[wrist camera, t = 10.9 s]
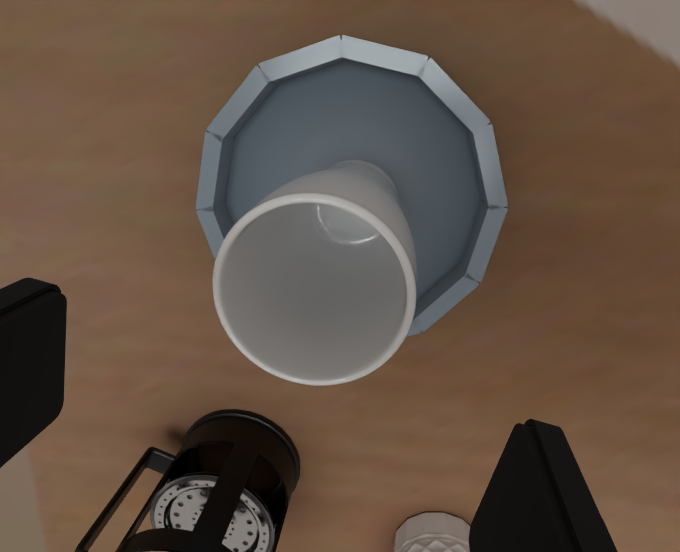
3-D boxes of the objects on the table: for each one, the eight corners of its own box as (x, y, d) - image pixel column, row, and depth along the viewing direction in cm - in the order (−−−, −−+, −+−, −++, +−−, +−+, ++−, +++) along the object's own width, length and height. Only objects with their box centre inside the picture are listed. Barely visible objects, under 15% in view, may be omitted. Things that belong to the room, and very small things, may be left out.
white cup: (351, 119, 28) (299, 141, 14) (435, 201, 29) (466, 297, 15) (276, 205, 30) (168, 297, 16) (357, 278, 31) (320, 424, 17)
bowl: (536, 87, 27) (552, 86, 24) (443, 351, 33) (447, 374, 30) (239, 14, 28) (221, 5, 25) (201, 287, 34) (183, 304, 31)
